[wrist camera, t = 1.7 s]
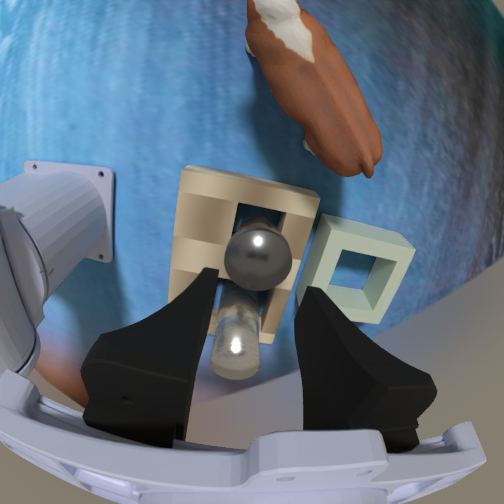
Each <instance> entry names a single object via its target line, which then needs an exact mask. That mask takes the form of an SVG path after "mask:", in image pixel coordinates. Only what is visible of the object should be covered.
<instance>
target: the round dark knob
mask: <svg viewBox="0 0 504 504" xmlns="http://www.w3.org/2000/svg"><path fill="white" fill-rule="evenodd" d="M224 266H225V270H226V273H227V274H228V276H229V277H230V279H231V280H232V281H233V282H234V283H235V284H237V285H238V286H240V287H242V288H245V289H247V290H252V291H264V290H268V289H271V288H274V287H276V286H278V285H279V284H281V283H282V282H283V281H284V280H285V279H286V278H287V276H288V275H289V273H290V271H291V268H292V254H291V250H290V246H289V243H288V241H287V240H286V238H285V237H284V236H283V235H282V234H281V233H280V232H279V231H277V230H276V228H275V225H274V223H273V221H272V220H271V219H270V218H268V217H267V216H264V215H261V214H254V215H250V216H248V217H246V218H245V219H244V220H243V221H242V223H241V224H240V227H239V231H238V232H236V233H235V234H234V235H233V236H232V237H231V238H230V240H229V242H228V244H227V246H226V250H225V256H224Z"/></svg>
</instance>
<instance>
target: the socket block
mask: <svg viewBox="0 0 504 504" xmlns="http://www.w3.org/2000/svg"><path fill="white" fill-rule="evenodd" d="M238 202H239V203H244V204H249V205H254V206H259V207H264V208H269V209H273V210H278V211H282V212H281V216H280V220H279V223H278V227H277V231H279V232H280V233H281V234H282V235H283V236H284V237H285V238H286V240H287V241H288V243H289V246H290V250H291V254H292V268H291V271H290V273H289V275H288V276H287V278H286V279H285V280H284V281H283V282H282V283H281V284H279V285H278V286H276V287H274V288H271V289H269V291H268V295H267V298H266V301H265V305H264V308H263V311H262V315H261V317H259V343H266V344H272V342H273V339H274V337H275V334H276V331H277V328H278V326H279V323H280V320H281V317H282V315H283V312H284V309H285V306H286V303H287V301H288V298H289V295H290V292H291V289H292V286H293V283H294V280H295V277H296V274H297V271H298V268H299V265H300V262H301V259H302V256H303V253H304V250H305V247H306V244H307V241H308V238H309V235H310V232H311V228H312V225H313V222H314V219H315V216H316V212H317V209H318V206H319V202H320V197H319V196H318V195H317V193H316V192H315V191H314V190H310V189H306V188H302V187H298V186H294V185H289V184H285V183H281V182H276V181H272V180H267V179H262V178H258V177H253V176H248V175H243V174H238V173H233V172H228V171H222V170H217V169H211V168H206V167H200V166H194V165H187V166H186V167H185V168H184V169H182V170H181V177H180V185H179V192H178V200H177V208H176V216H175V225H174V235H173V245H172V256H171V268H170V281H169V297H168V304H169V303H170V302H171V301H172V300H174V299H175V298H176V297H177V296H178V295H179V294H180V293H182V292H183V291H184V290H185V289H186V288H187V287H188V286H189V285H190V284H191V283H192V282H193V281H194V279H195V278H196V277H197V276H198V275H199V273H200V272H201V271H202V269H203V268H205V267H209V268H214V269H219V275H218V277H220V278H225V279H230V277H229V276H228V274H227V273H226V270H225V266H224V256H225V250H226V246H227V244H228V242H229V240H230V238H231V237H232V236H233V235H231V234H232V230H233V225H234V220H235V215H236V210H237V205H238ZM230 280H231V279H230ZM217 316H218V309H212V315H211V320H210V326H209V329H208V333H207V334H211V335H215V329H216V323H217Z"/></svg>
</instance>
